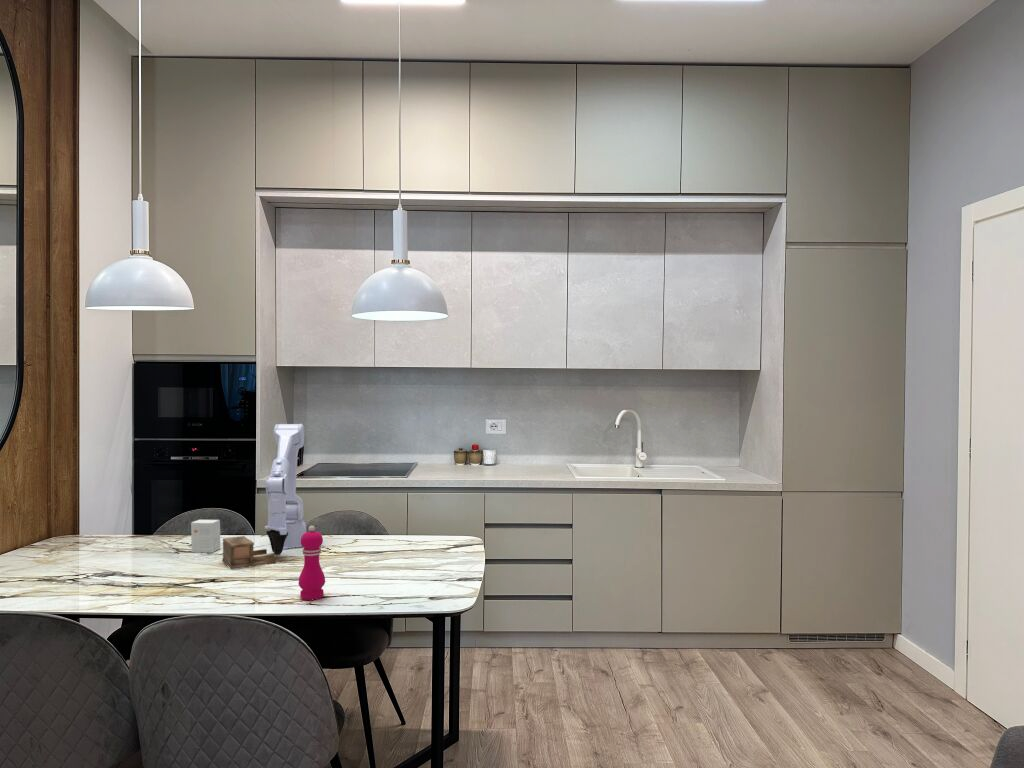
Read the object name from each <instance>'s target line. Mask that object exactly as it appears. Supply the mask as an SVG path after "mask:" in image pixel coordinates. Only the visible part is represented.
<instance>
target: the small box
mask: <svg viewBox="0 0 1024 768" xmlns="http://www.w3.org/2000/svg"><path fill="white" fill-rule="evenodd" d="M190 525H191V526H190V528H191V529H190V530H191V531H190V534H191V537H190V538H191V539H190V540H191V553H207V552H213V553H215V552H217V551H219V550H221V520H220V519H197V520H194V521H192V522H191V523H190ZM218 549H219V550H218ZM216 550H217V551H216ZM214 551H215V552H214Z"/></svg>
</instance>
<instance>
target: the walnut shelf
mask: <svg viewBox="0 0 1024 768" xmlns="http://www.w3.org/2000/svg"><path fill="white" fill-rule="evenodd" d="M247 545H250V558H243V559H236V560H234V547H239V546H247ZM254 545H255V542H254V541H252V540H251V539H249V538H247V537H246V536H245V535H242V536H241V535H240V536H235V537H234V536H232V537H227V538H226V537H225V538H222V561H223V562H224V564H225V565H226V566H227V565H228V566H229V567H230V569H231V570H234V569H233V568H238V569H242V568H241V567H245V568H250V567H249V566H252V567H256V566H257V565H259V566H265V564H266V565H272V563H273V564H276V562H277V560H276V555H274V554H273V555H265V556H258V557H254V556H256V555H263V554H268V553H267V552H268V550H267V549H266V548H263V549H255V550H254ZM223 562H222V563H223ZM228 566H227V567H228ZM229 567H228V568H229ZM257 567H258V566H257Z"/></svg>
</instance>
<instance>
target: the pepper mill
mask: <svg viewBox="0 0 1024 768" xmlns="http://www.w3.org/2000/svg"><path fill="white" fill-rule="evenodd" d="M323 542H324V539H323V535H322V534H321V533H320V532H319V531H316V527H315V526H314V525H310V526H308V531H306V533H304V534H303V535H302V537H301V545H302V546H303V547H302V548H303V549H302V555H303V559H304V563H303V568H302V570H301V572H300V575H299V577H298V586H299V588H300V589H301V590H300V596H299V597H301V598H302V599H301V598H300V599H301V600H303V599H306V600H305V601H313V600H312V599H317V600H319V599H318V598H320V599H322V598H323V597H324V596H323V595H324V593H325V592H324V588H323V587H324V585H325V584H326V576H325V573H324V571H323V568H322V567H321V564H320V555H321V553H322V548H321V546H322V545H323ZM321 597H322V598H321Z"/></svg>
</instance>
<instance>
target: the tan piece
mask: <svg viewBox="0 0 1024 768" xmlns="http://www.w3.org/2000/svg"><path fill="white" fill-rule="evenodd" d="M273 554H274V555H275V557H276V556H277V557H278V556H281V555H282V553H279V554H275V551H274V552H272V553H267V554H263V555H256V556H254V557H258V556H265V555H273ZM243 558H250V545H247V546H239V547H234V560H236V559H243Z"/></svg>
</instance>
